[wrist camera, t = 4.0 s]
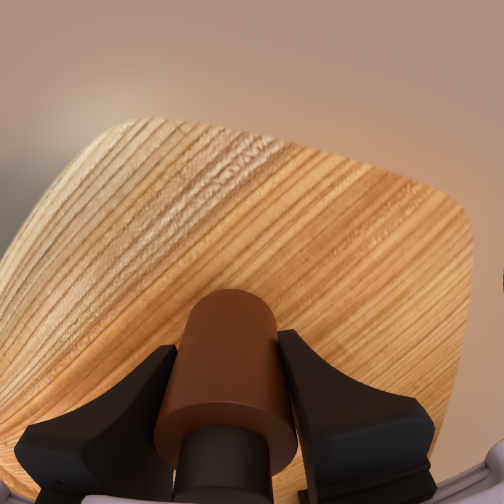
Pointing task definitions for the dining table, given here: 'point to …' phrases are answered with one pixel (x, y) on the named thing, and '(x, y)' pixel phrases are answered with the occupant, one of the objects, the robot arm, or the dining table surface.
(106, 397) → the robot arm
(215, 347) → the spice bottle
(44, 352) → the dining table surface
